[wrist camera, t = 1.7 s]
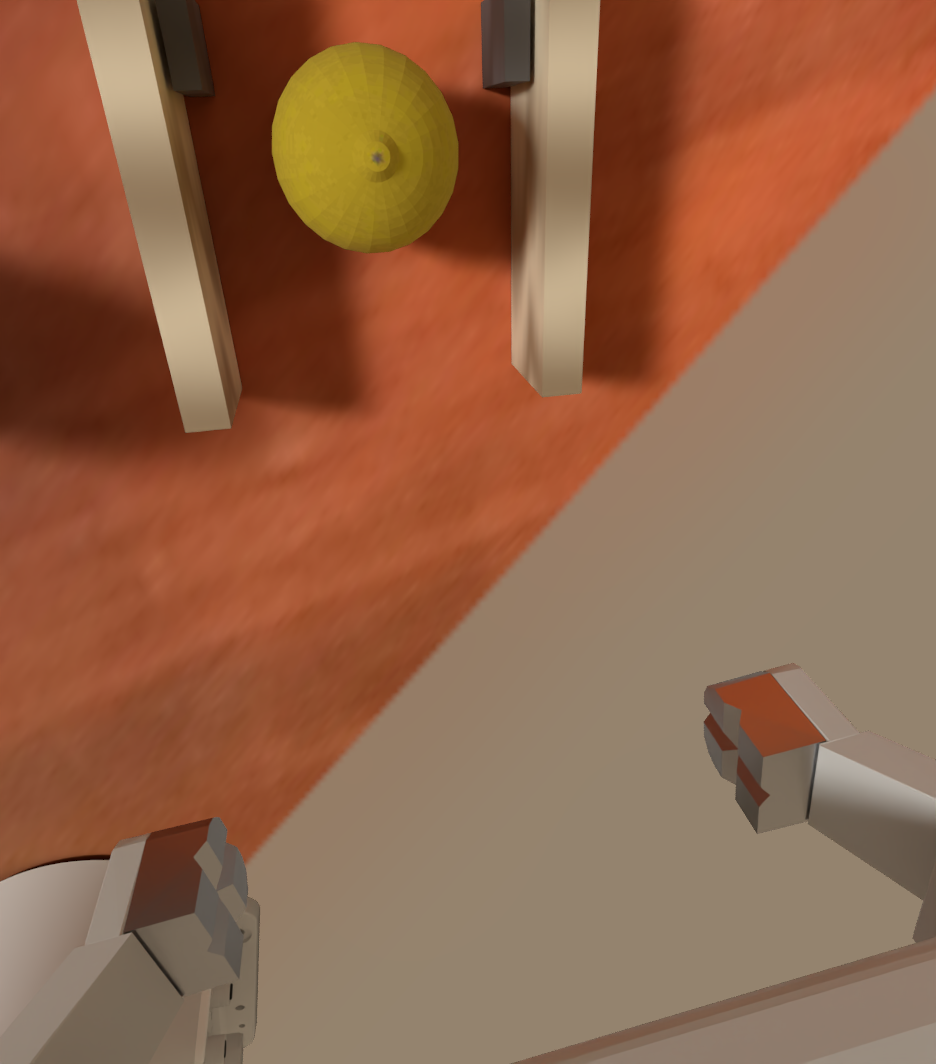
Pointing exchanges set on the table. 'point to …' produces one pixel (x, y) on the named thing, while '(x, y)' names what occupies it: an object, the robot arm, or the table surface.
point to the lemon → (365, 147)
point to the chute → (181, 217)
